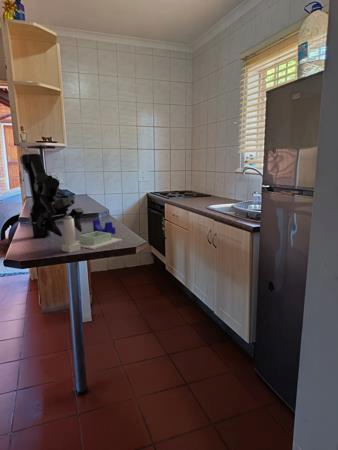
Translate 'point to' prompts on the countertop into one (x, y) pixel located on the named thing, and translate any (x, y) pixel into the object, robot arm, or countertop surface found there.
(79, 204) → the countertop surface
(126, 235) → the countertop surface
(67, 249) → the connector plug
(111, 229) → the cable clip
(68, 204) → the robot arm
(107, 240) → the end holder
